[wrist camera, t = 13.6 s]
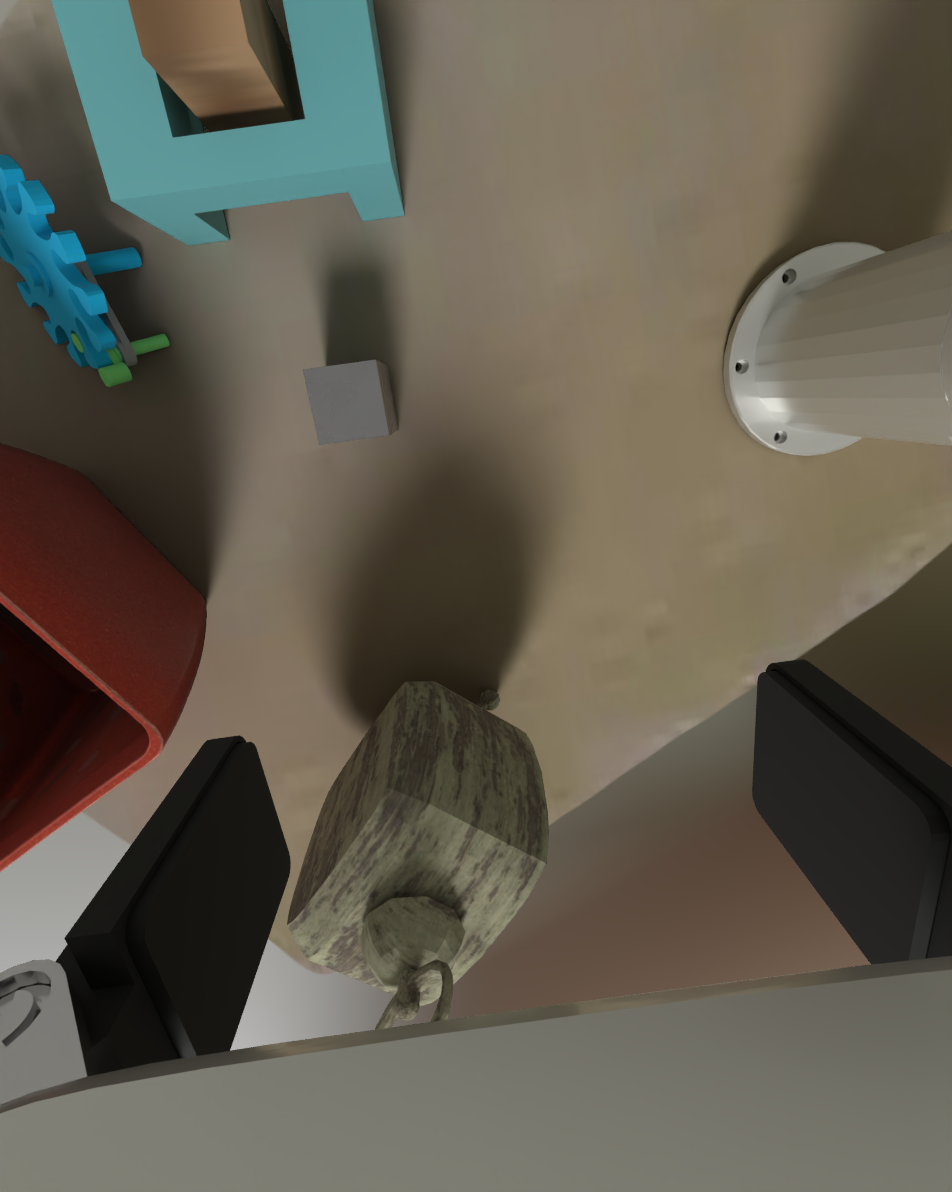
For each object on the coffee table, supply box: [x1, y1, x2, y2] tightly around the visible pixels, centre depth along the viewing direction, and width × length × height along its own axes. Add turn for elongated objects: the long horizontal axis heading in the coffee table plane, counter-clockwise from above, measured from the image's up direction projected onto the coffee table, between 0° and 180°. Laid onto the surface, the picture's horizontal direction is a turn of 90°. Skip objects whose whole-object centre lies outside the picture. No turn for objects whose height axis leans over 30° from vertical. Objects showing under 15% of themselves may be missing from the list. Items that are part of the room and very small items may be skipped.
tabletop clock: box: [287, 681, 549, 1030], centre depth 33 cm, size 14×9×25 cm, turn 146°
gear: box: [0, 155, 169, 387], centre depth 31 cm, size 11×6×10 cm
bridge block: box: [51, 0, 404, 246], centre depth 28 cm, size 13×10×8 cm
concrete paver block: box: [303, 360, 398, 445], centre depth 34 cm, size 4×4×6 cm
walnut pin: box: [128, 0, 305, 132], centre depth 26 cm, size 4×4×12 cm
